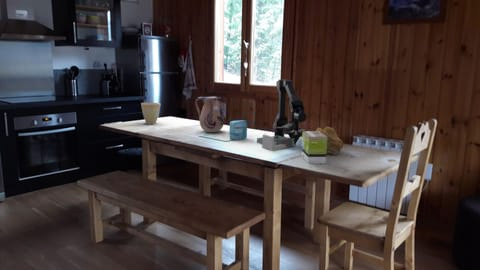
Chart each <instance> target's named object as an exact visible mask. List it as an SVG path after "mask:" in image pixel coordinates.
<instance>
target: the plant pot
mask: <svg viewBox="0 0 480 270" xmlns="http://www.w3.org/2000/svg"><path fill="white" fill-rule="evenodd" d="M160 109H161V103H159V102H141V110H142V115H143V119H144V121H145V123H146V125H147V124H148V125H156V124H157V121H158V117H159V114H160Z"/></svg>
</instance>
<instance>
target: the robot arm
mask: <svg viewBox="0 0 480 270" xmlns="http://www.w3.org/2000/svg"><path fill="white" fill-rule="evenodd" d="M275 83H276V84H275V85H276V90H277V91H278V106H277V107H278V111H277V115H276V116H275V120H274V122H273V124H272V128H273V130H274V135H273V136H281V137H285V138H286V137H287V136H285V134H287V135H288V137H289V138H292V139H294V144H296V145H297V143H298V141H299V140H300V138H301V137H302V133H303V131H308V129H304V128H303V129H302V128H301V127H300V124H301V123H304V122H306V120H307V117H308V116H307V114H306V113H305V105H304V102H303V100H302V99H301V97H300V96H298V95H297V92H296V90H295V88H294V84H293V80H290V79H289V80H288V79H278V80H276V82H275ZM287 95H288V97H289V98H288V99H289V100H288V101H289V102H288V103H289V105H288V106H289V108H290V109H289V111H290V120H288V117H287V115H286V109H287V108H286V106H287V105H286V104H287V103H286V102H287Z"/></svg>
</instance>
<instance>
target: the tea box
mask: <svg viewBox="0 0 480 270" xmlns="http://www.w3.org/2000/svg"><path fill="white" fill-rule="evenodd" d="M326 152H327V136H325V135H324V134H322V133H321V132H320V131H316V130H315V131H314V130H313V131H312V130H307V131H303V133H302V135H301V157H302V158H303V159H304V161H306V163H307V164H308V163H321V164H326V161H327V154H326Z"/></svg>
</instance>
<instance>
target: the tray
mask: <svg viewBox="0 0 480 270" xmlns="http://www.w3.org/2000/svg"><path fill="white" fill-rule="evenodd" d="M271 136H272V137H274V142H277V139H278V138H285V137H286V136H285V137H281V136H274V135H271ZM256 143H258V144H261V145H262V143H263V136H262V137H257V138H256Z"/></svg>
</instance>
